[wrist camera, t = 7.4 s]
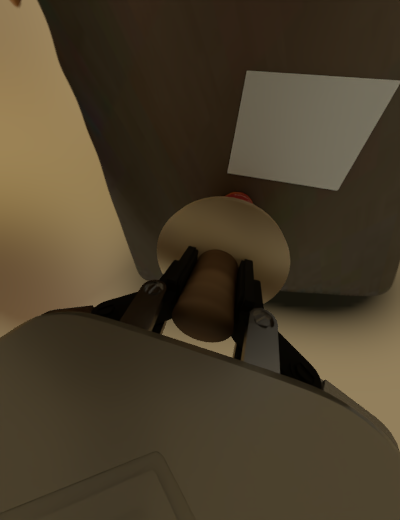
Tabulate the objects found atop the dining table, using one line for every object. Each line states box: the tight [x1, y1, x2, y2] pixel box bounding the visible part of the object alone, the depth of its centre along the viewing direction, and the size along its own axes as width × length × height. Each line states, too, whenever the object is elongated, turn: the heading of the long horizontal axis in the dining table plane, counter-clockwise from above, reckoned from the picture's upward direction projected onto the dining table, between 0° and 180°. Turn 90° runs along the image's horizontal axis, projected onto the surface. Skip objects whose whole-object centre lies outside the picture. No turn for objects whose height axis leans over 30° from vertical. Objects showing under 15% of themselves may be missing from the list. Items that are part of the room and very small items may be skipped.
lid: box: [157, 196, 290, 342], centre depth 10 cm, size 10×10×6 cm
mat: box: [227, 71, 400, 191], centre depth 19 cm, size 10×15×1 cm, turn 83°
